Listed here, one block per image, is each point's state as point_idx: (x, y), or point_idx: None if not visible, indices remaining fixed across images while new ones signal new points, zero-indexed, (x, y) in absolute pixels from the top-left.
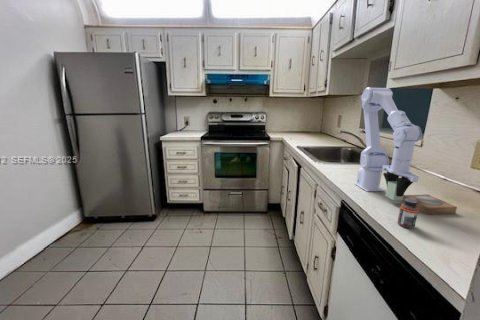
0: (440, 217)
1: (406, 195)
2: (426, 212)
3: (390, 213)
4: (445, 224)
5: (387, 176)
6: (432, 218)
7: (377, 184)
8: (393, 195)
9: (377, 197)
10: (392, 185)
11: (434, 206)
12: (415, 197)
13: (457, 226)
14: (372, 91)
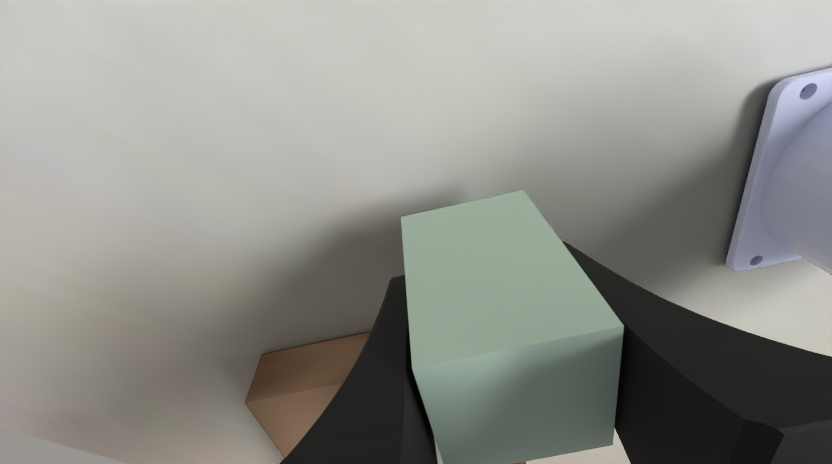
0: (244, 400)
1: None
2: (265, 363)
3: (147, 65)
4: (129, 381)
5: (712, 400)
6: (202, 356)
7: (824, 238)
8: (410, 245)
9: (591, 131)
10: (482, 322)
11: (294, 441)
12: None
13: (134, 420)
14: None
